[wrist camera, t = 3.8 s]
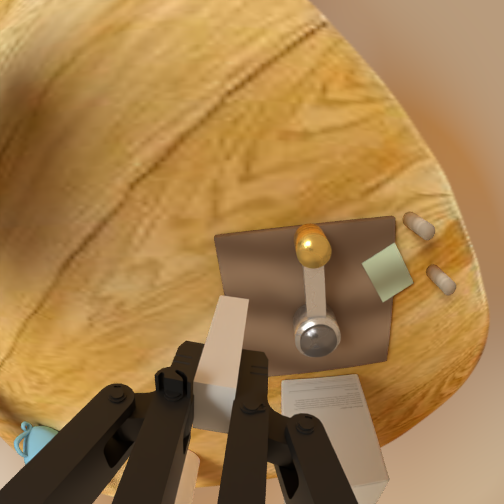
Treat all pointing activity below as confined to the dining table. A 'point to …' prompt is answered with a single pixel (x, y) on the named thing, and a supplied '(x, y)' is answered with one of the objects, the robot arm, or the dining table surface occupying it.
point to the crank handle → (314, 295)
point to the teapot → (33, 440)
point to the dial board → (336, 288)
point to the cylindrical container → (188, 479)
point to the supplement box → (342, 428)
